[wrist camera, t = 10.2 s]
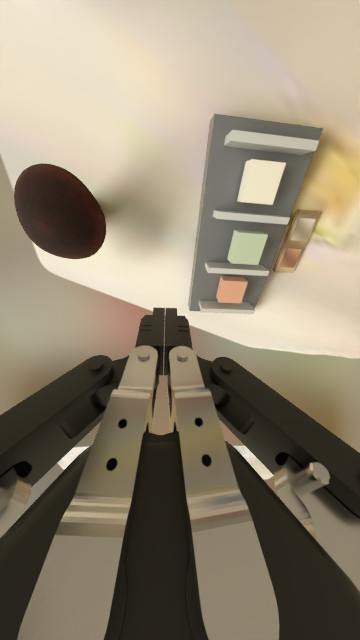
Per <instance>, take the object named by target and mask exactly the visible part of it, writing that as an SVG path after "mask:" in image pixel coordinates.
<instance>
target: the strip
mask: <svg viewBox="0 0 360 640" xmlns="http://www.w3.org/2000/svg"><path fill="white" fill-rule="evenodd" d="M320 213H321V212H317V211H306V210H297V211H296V214H295V216H294V219H293V221H292V224H291V226H290V229H289V231H288V234H287V236H286V239H285V242H284V244H283V247H282V249H281V252H280V254H279V257H278V259H277V262H276V264H275V267H274V269H273V271H275V272H290V273H293V271H294V269H295V267H296V265H297V263H298V261H299V258H300V256H301V254H302V252H303V250H304V248H305V246H306V243H307V241H308V239H309V237H310V235H311V233H312V230H313V228H314V226H315V224H316V222H317V220H318V218H319V215H320Z"/></svg>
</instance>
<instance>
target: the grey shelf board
mask: <svg viewBox="0 0 360 640" xmlns="http://www.w3.org/2000/svg"><path fill="white" fill-rule="evenodd" d="M322 130H323V128H315V127H308V126H300V125H293V124H285V123H278V122H271V121H263V120H256V119H248V118H241V117H233V116H226V115H219V114H214V116H213V117H212V119H211V121H210V127H209V136H208V144H207V153H206V161H205V169H204V178H203V186H202V194H201V203H200V211H199V220H198V228H197V236H196V245H195V253H194V261H193V270H192V278H191V286H190V295H189V303H188V305H189V311H201V312H209V313H239V314H253V313H254V311H255V310H254V309H255V306H256V304H257V301H258V298H259V296H260V293H261V291H262V288H263V285H264V283H265V280H266V277H267V276H268V274H269V269H270V267H271V264H272V262H273V259H274V256H275V254H276V251H277V248H278V246H279V243H280V240H281V238H282V235H283V233H284V230H285V227H286V225H287V224H288V222H289V219H290V218H289V217H290V214H291V212H292V209H293V206H294V204H295V201H296V198H297V196H298V193H299V190H300V188H301V185H302V183H303V180H304V177H305V175H306V172H307V169H308V167H309V164H310V162H311V159H312V156H313V154H314V151H316V149H317V146H318V143H319V141H318V140H319V138H320V135H321V133H322ZM251 159H256V160H265V161H274V162H282V163H286V165H285V168H284V171H283V174H282V177H281V180H280V183H279V186H278V190H277V193H276V196H275V199H274V202H273V205H268V204H257V203H246V202H238V201H237V199H238V194H239V190H240V185H241V181H242V176H243V172H244V167H245V163H246V161H248V160H251ZM234 230H244V231H257V232H263V233H266V234H268V237H267V240H266V243H265V246H264V249H263V252H262V255H261V258H260V261H259V264H258V265H249V264H232V263H230V262H229V260H228V259H227V258H228V254H229V249H230V245H231V241H232V236H233V232H234ZM221 276H233V277H244V278H245V279H246V280H247V281H248V283H247V287H246V290H245V293H244V296H243V299H242V302H241V303H219V302H218V300H217V298H216V295H217V290H218V286H219V281H220V277H221Z"/></svg>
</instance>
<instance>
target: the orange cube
mask: <svg viewBox="0 0 360 640" xmlns="http://www.w3.org/2000/svg"><path fill="white" fill-rule="evenodd" d="M247 283H248V281H247V280H246V279H245V278H244V277H233V276H221V277H220V281H219V286H218V290H217V295H216V298H217V300H218V302H219V303H241V302H242V299H243V296H244V293H245V290H246V287H247Z"/></svg>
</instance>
